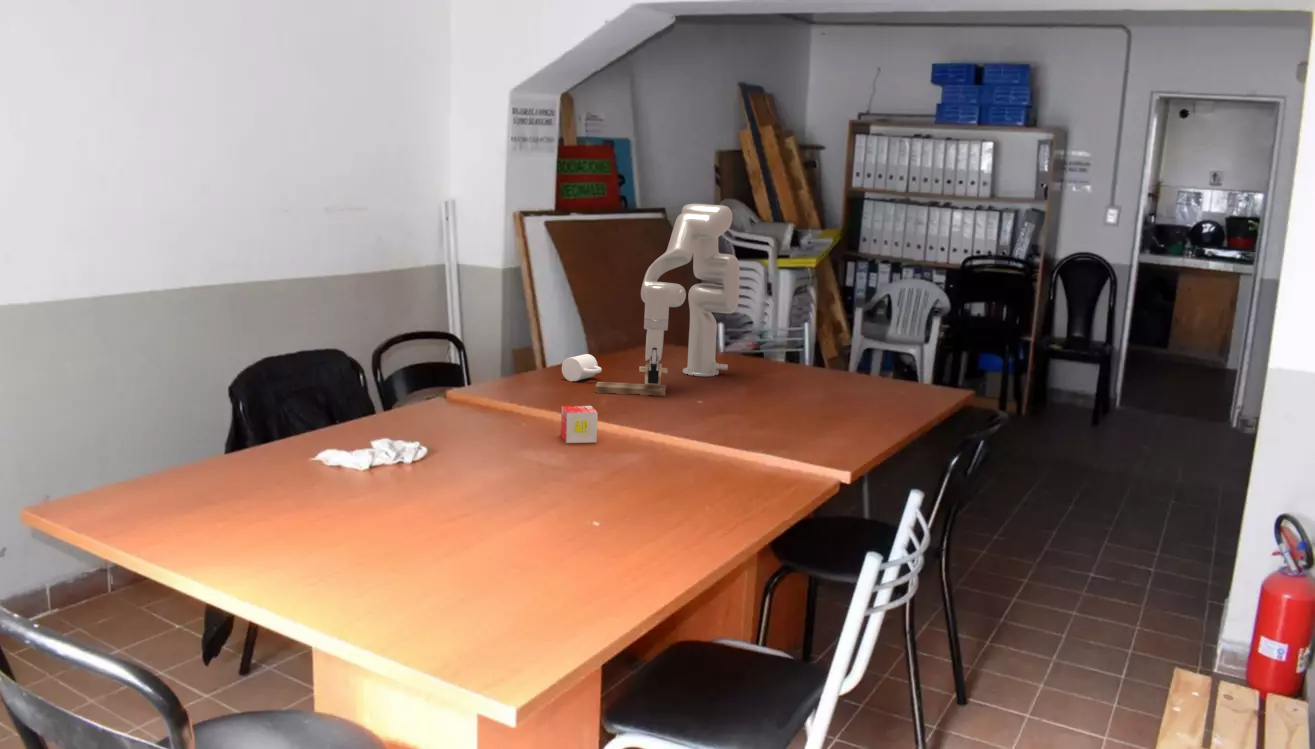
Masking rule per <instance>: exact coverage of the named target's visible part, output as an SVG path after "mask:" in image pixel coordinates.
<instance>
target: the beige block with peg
mask: <svg viewBox="0 0 1315 749" xmlns="http://www.w3.org/2000/svg"><path fill="white" fill-rule="evenodd" d="M656 364H657V363H656ZM649 365H650V362H645V366H641V365H640V366H639V367H638V372H642V373H644V384H653V385H662V384H661V382H662V374H668V372H669V371H668V370H669V367H662V366H663V363H659V362H658V371H659V375H658V383H657V384H655V383H648V370H649Z"/></svg>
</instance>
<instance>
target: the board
mask: <svg viewBox="0 0 1315 749" xmlns="http://www.w3.org/2000/svg"><path fill="white" fill-rule="evenodd" d="M666 390H667V385H666V384H661V385H658V384H645V383H632V382H631V383H629V382H611V381H609V382H608V381H596V384H595V390H594V391H595V392H597V393H596V394H608V393H616V394H615V395H628V394H640V395H639V396H648V395H654V396H655V397H666ZM654 396H653V397H654Z"/></svg>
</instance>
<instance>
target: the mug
mask: <svg viewBox="0 0 1315 749" xmlns="http://www.w3.org/2000/svg"><path fill="white" fill-rule="evenodd" d="M598 365H599V364H598V361H597V360H596V358H595V356H593V355H592V354H590V353H589V354H588V353H585V354H579V355H576V356H572V357H567V358H566V359H565V360H564V361H563V362H562V364H561V373H562V375H563V377H564V379H566V381H569V382H572V381H575V382H578V381H581V380H586V379H589V378H593V377H594V376H595V375H596V374H599V373H601V372H602V371H603V370H602V369H603V368H602V367H601V366H598Z"/></svg>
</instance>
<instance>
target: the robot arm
mask: <svg viewBox="0 0 1315 749" xmlns="http://www.w3.org/2000/svg"><path fill="white" fill-rule="evenodd" d="M675 219H676V220H675V223H674V225H673V229H672V232H671V235H670V239H669V242H668V245H667V248H666V251H665V252H664V253H663V254H662V255H660V256H659V257H658V258H656V259H655V260H654V262H653V263H651V264H650V266H648V268H647V270H646V272H645V274H644V278H643V281H642V284H641V289H640V298H641V300H642V302H643V303H644V316H643V317H644V320H643V322H644V323H643V329H644V330H646V336H645V337H646V338H645V352H644V353H645V356H644V357H645V359H644V360H645V362H647V361H648V360H649V363H650V365H649V370H648V383H655V384H654V385H658V384H657V383H658V375H659V371H658V363H659V362H661V359H662V355H663V348H664V338H665V337H664V335H665V331H668V330H669V329H668V328H669V327H668V326H669V315H670V313H669V312H670V311H669V310H670V308H678V307H681V306H682V305H683V304H684V302H685V300H686V298H687V297H686V296H687V292H686V289H685V287H684V286H682V285H681V284H679V283H676V282H675V283H674V282H664V281H658V280H659V278H660V277H661V276H663V275H664V274H666V272H668V271H671V270H673V269H676V268H678V267H681V266H684V265H687V264H688V263H690V262H691V261H692V259H693V263H692V264H693V266H692V267H693V268H692V269H693V275H694V277H695V278H696V279H698V280H702V281H710V282H721V283H722V284H716V283H715V284H714V283H701V282H699V283H696V284H694V285H692V286H691V287H690V289H689V290H688V306H689V307H688V308H689V329H688V330H689V331H688V348H687V349H688V350H687V352H688V353H687V367H684V368H683V369H682V373H683V374H685V375H687V374H688V376H693V375H694V376H695V377H716V376H718V375H719V374H720V373H719V370H722V371H728V368H729V366H728V364H725V363H717V361H716V350H717V349H716V348H717V346H716V345H717V334H718V333H717V332H718V331H717V330H718V328H717V327H718V324H717V320H716V319H715V318H716V317H714V315H713V313H720V314H732V313H735V311H736V310H737V309H738V307H739V306H738V305H739V301H740V300H739V298H740V273H741V272H740V262H739V260H738V258H737V257H736V256H735V255H733V254H730V253H729V254H728V253H720V252H719V237H720V236H723V234H724V233H726V232H727V231H728V230H729V229H730V227H731V225H732V223H733V212H732V210H731V209H730V207H729V206H726V205H722V204H709V203H708V204H707V203H706V204H705V203H689V204H688V203H687V204H685V205H684V206H683V207H682V208H681V213H680V214H678V215H677V217H676V218H675ZM656 363H657V364H656ZM715 375H716V376H715ZM694 376H693V377H694Z"/></svg>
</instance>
